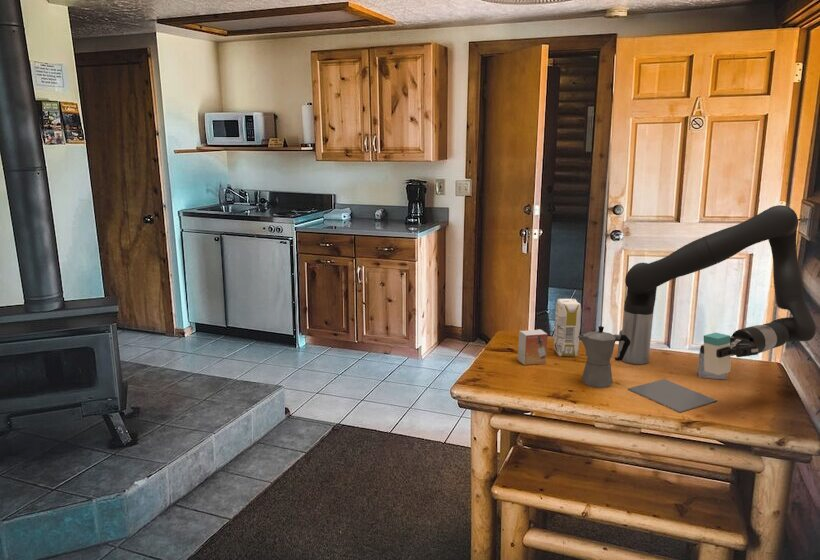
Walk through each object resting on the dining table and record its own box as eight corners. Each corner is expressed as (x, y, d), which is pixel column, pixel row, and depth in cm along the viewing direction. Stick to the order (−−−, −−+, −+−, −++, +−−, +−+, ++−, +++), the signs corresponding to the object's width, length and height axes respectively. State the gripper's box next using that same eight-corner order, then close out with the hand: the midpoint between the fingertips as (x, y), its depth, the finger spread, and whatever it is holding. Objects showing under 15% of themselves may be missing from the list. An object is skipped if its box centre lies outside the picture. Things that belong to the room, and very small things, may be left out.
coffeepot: (576, 387, 182) (581, 330, 178) (572, 375, 191) (576, 320, 187) (629, 390, 180) (635, 332, 176) (623, 378, 189) (628, 323, 185)
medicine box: (723, 375, 192) (726, 349, 190) (726, 380, 188) (730, 354, 186) (696, 372, 194) (699, 347, 192) (699, 377, 190) (702, 351, 188)
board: (627, 389, 180) (627, 388, 180) (664, 380, 187) (664, 378, 187) (679, 412, 165) (680, 411, 164) (717, 401, 172) (717, 400, 172)
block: (704, 371, 164) (703, 335, 163) (716, 367, 166) (715, 332, 165) (718, 375, 160) (717, 338, 159) (730, 371, 162) (730, 335, 160)
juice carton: (557, 357, 207) (561, 304, 203) (551, 349, 215) (555, 297, 211) (579, 357, 207) (583, 304, 203) (572, 349, 215) (576, 297, 211)
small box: (524, 365, 199) (525, 335, 197) (517, 360, 204) (518, 330, 202) (546, 363, 201) (548, 333, 199) (539, 358, 206) (540, 328, 204)
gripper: (731, 322, 174) (687, 333, 167) (778, 331, 161) (732, 343, 154) (731, 347, 175) (688, 359, 168) (778, 358, 162) (733, 371, 155)
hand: (709, 351), depth 161 cm, fingers closed on block, 4 cm apart
